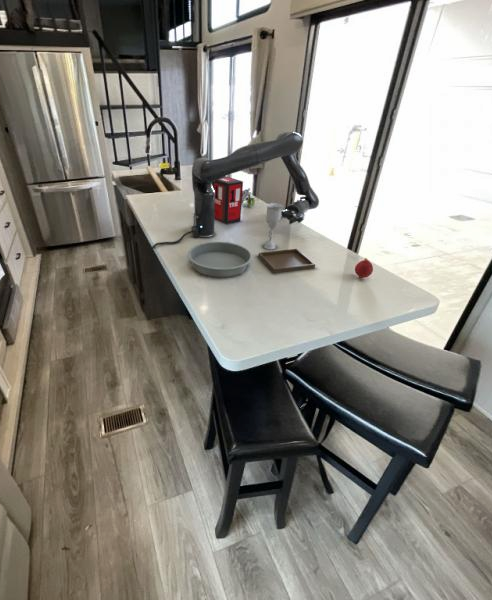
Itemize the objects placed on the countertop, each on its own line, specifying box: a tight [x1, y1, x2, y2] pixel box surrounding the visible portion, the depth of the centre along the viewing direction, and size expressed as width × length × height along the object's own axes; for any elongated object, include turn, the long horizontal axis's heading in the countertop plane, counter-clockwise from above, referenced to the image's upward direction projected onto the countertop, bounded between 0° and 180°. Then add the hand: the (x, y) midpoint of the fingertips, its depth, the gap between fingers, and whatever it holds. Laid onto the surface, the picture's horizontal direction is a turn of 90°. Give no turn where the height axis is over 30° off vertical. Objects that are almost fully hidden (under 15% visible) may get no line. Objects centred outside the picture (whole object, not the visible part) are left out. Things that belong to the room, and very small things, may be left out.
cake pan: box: [187, 241, 253, 278], centre depth 123 cm, size 25×25×4 cm
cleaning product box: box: [212, 175, 244, 225], centre depth 165 cm, size 16×9×20 cm, turn 34°
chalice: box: [263, 202, 284, 250], centre depth 134 cm, size 7×7×18 cm
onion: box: [354, 257, 374, 280], centre depth 114 cm, size 6×6×8 cm
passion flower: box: [242, 187, 259, 209], centre depth 189 cm, size 11×11×12 cm
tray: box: [257, 248, 316, 274], centre depth 126 cm, size 17×15×2 cm
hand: (281, 219), depth 139 cm, fingers open, 8 cm apart
